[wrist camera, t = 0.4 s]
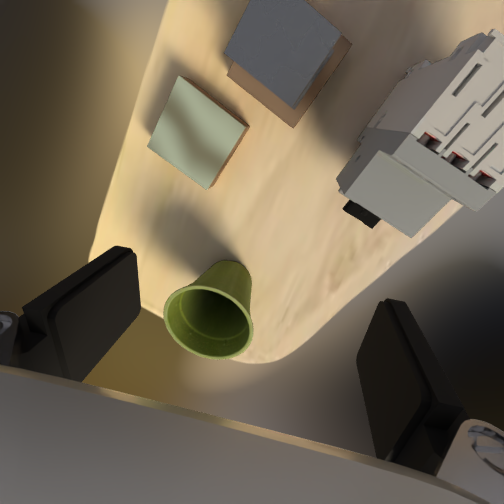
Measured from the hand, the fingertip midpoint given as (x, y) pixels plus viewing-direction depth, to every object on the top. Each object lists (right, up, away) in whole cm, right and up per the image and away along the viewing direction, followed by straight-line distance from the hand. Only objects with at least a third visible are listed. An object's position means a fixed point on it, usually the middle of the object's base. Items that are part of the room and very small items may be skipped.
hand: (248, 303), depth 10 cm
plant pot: (-3, -2, +34) cm, 34 cm away
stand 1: (-6, +17, +24) cm, 30 cm away
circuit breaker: (+16, +14, +22) cm, 31 cm away
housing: (+4, +21, +17) cm, 28 cm away
